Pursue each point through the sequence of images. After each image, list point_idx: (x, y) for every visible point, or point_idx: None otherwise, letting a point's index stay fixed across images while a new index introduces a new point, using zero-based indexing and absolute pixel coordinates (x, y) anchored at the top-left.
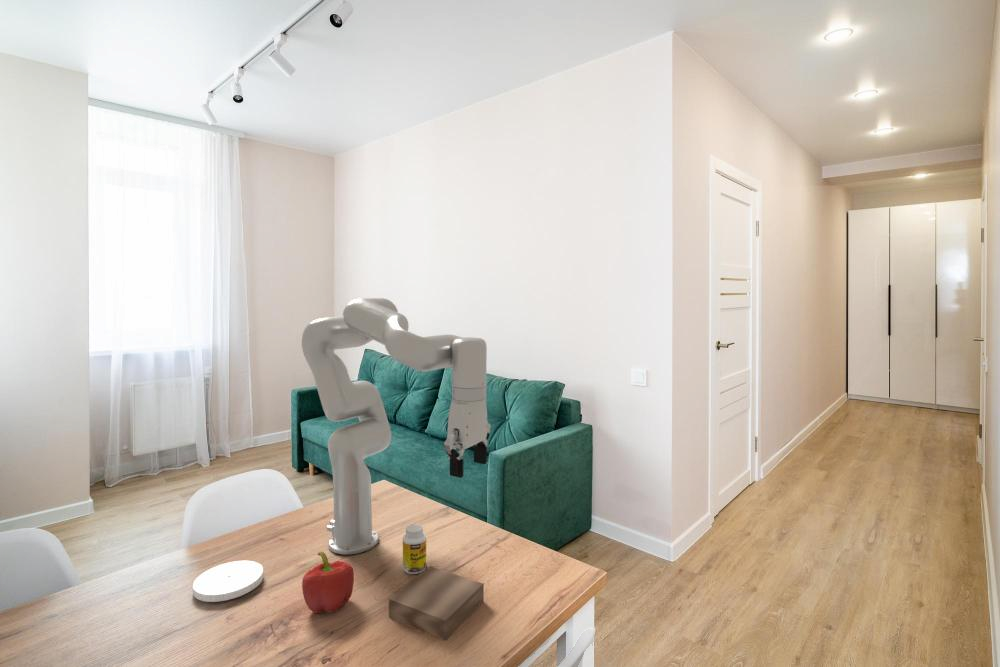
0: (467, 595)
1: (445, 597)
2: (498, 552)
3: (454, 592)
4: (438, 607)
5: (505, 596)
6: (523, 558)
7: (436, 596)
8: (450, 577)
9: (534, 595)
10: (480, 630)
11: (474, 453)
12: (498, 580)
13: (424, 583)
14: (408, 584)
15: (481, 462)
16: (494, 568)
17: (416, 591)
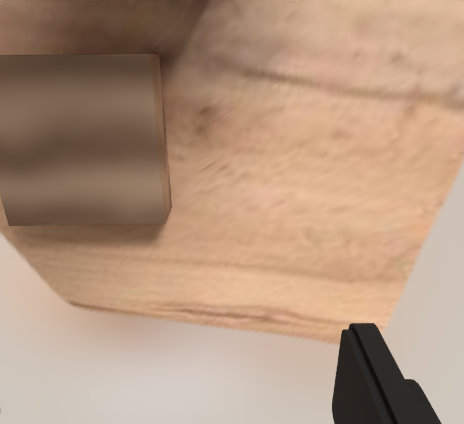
0: (105, 217)
1: (66, 180)
2: (379, 130)
3: (94, 187)
4: (28, 188)
5: (212, 235)
6: (373, 200)
7: (55, 159)
8: (139, 140)
9: (245, 279)
10: (96, 245)
11: (373, 405)
12: (257, 195)
13: (74, 96)
14: (41, 58)
15: (336, 396)
16: (300, 161)
17: (35, 101)
